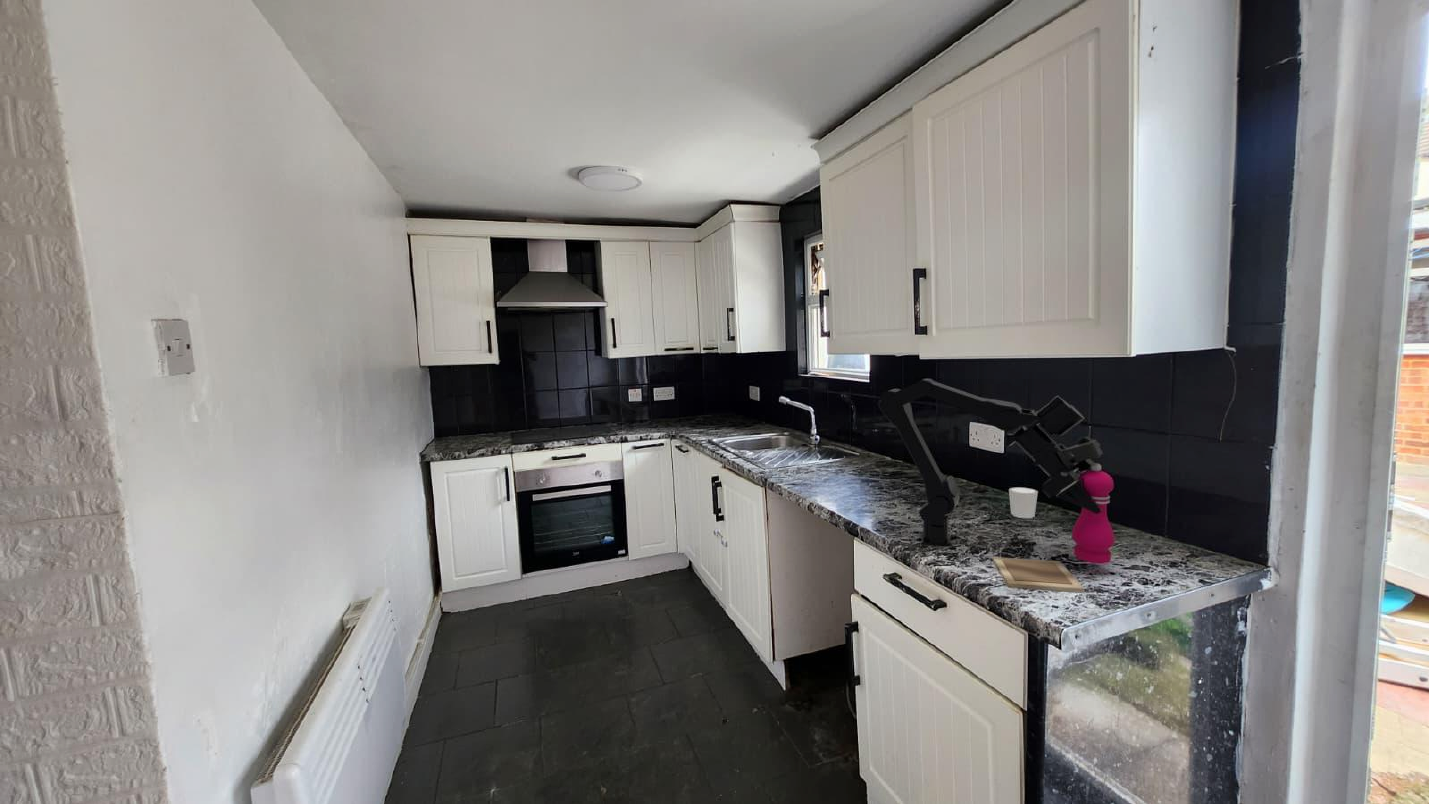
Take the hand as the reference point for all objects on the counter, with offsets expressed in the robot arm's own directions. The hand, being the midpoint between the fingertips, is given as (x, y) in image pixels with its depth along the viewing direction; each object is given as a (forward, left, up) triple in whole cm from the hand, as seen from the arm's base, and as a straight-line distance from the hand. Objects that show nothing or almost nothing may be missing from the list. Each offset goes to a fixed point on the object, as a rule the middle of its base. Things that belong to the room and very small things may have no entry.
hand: (1102, 509), depth 108 cm
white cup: (-36, -5, -13) cm, 38 cm away
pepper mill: (-1, -1, -11) cm, 11 cm away
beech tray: (+4, -13, -13) cm, 19 cm away
